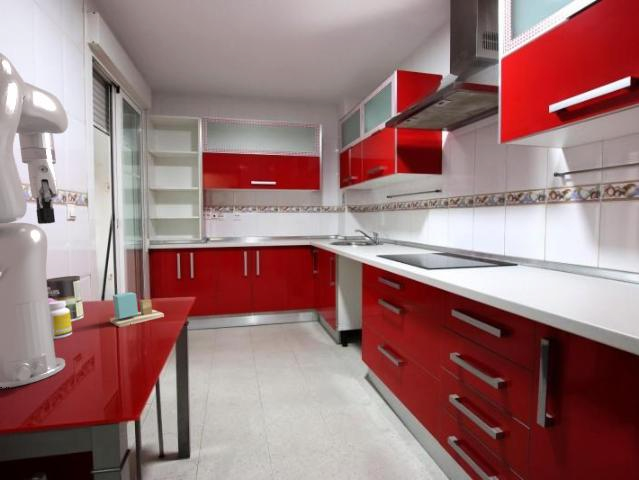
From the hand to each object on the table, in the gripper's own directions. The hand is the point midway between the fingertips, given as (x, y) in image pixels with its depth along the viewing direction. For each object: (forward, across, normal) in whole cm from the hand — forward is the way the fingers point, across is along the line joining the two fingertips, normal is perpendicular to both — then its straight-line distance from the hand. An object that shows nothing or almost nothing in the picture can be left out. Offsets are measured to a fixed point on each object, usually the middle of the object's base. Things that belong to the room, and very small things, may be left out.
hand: (46, 222), depth 101 cm
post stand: (+32, -3, -20) cm, 38 cm away
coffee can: (+32, +20, -5) cm, 38 cm away
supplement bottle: (+32, -2, 0) cm, 33 cm away
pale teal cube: (+30, -3, -17) cm, 35 cm away
